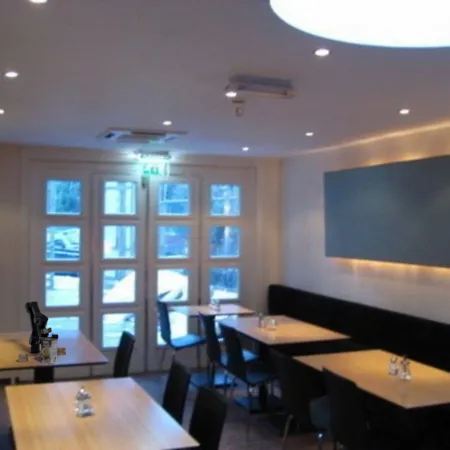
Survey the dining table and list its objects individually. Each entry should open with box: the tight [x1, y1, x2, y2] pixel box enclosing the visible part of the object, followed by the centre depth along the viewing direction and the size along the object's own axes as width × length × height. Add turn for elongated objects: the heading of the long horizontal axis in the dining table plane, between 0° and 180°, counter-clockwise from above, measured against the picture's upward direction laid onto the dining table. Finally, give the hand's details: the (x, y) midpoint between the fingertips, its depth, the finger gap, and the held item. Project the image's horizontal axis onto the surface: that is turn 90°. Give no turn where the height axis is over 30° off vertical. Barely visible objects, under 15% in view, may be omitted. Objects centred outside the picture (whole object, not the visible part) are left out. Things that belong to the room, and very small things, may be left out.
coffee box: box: [40, 338, 58, 365], centre depth 411 cm, size 9×6×16 cm
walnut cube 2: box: [57, 346, 67, 357], centre depth 433 cm, size 5×5×5 cm
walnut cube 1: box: [17, 353, 29, 363], centre depth 413 cm, size 5×5×5 cm
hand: (46, 349), depth 415 cm, fingers closed
